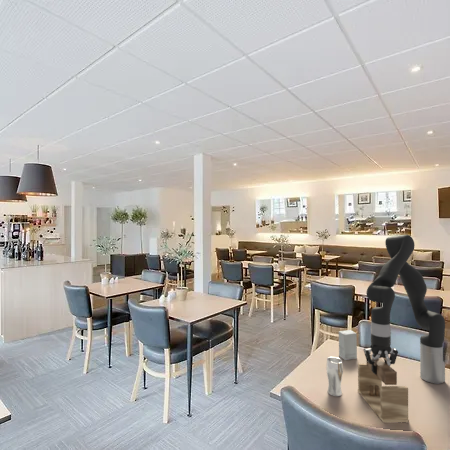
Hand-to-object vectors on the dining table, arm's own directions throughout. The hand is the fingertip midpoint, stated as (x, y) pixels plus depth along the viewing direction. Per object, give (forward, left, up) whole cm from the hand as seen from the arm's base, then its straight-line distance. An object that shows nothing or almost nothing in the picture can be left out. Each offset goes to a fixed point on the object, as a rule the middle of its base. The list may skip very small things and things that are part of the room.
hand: (380, 373), depth 127 cm
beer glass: (+16, -10, -14) cm, 23 cm away
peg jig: (0, 0, -14) cm, 14 cm away
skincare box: (-5, -46, -14) cm, 48 cm away
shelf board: (0, 0, -1) cm, 1 cm away
